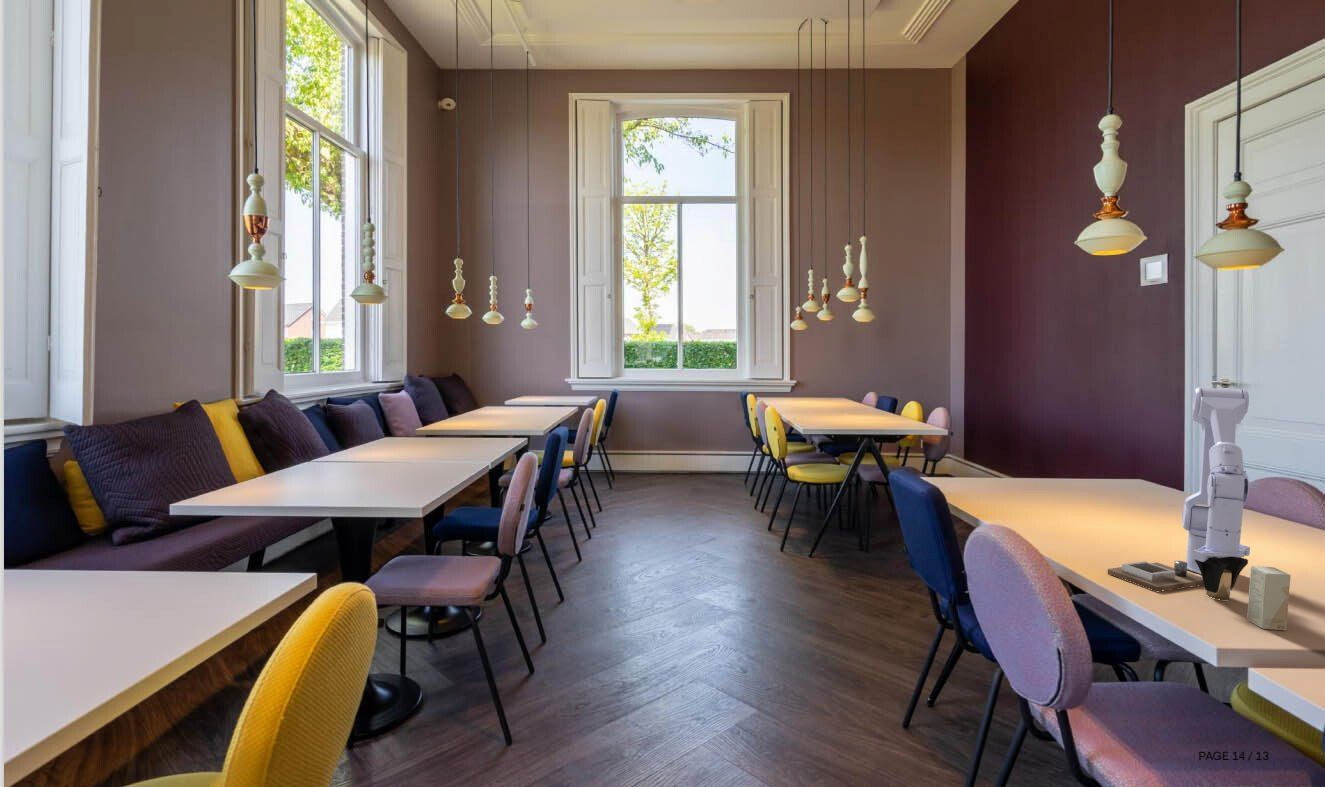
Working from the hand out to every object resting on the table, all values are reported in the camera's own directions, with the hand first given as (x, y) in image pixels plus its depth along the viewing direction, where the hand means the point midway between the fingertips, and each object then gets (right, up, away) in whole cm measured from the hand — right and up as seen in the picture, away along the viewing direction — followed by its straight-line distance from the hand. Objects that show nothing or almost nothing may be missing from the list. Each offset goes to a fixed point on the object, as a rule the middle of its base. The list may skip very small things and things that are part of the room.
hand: (1218, 590), depth 153 cm
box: (-2, -3, -14) cm, 14 cm away
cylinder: (0, -2, 0) cm, 2 cm away
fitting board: (-6, -1, +11) cm, 12 cm away
